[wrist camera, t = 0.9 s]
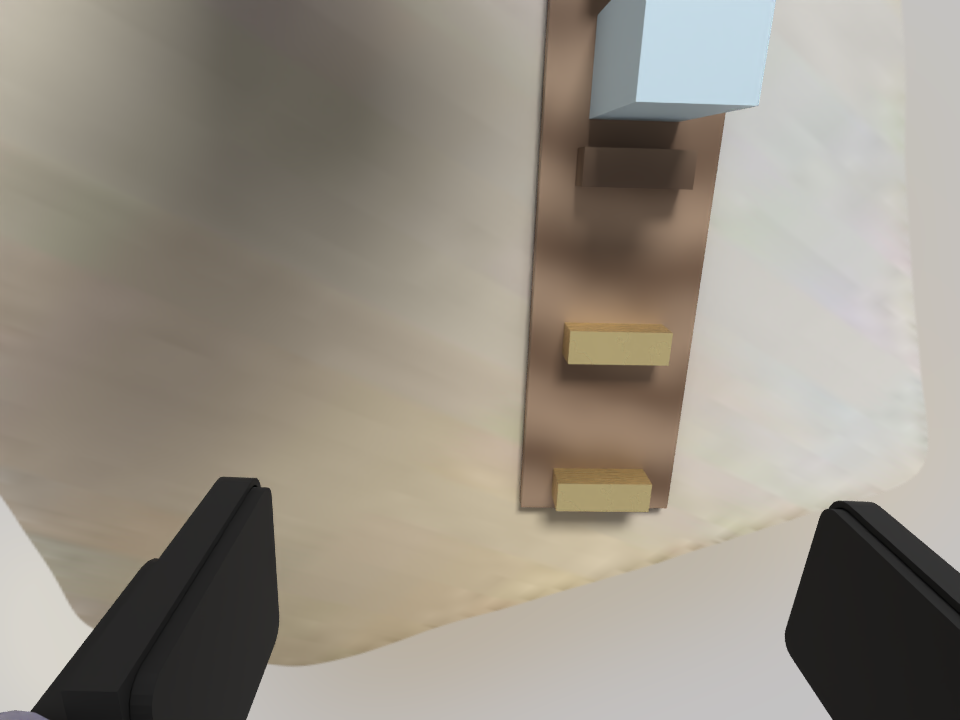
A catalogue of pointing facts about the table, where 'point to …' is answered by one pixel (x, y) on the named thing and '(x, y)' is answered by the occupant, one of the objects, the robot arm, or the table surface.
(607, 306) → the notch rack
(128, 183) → the table surface
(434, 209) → the table surface
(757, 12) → the painted block
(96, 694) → the robot arm
